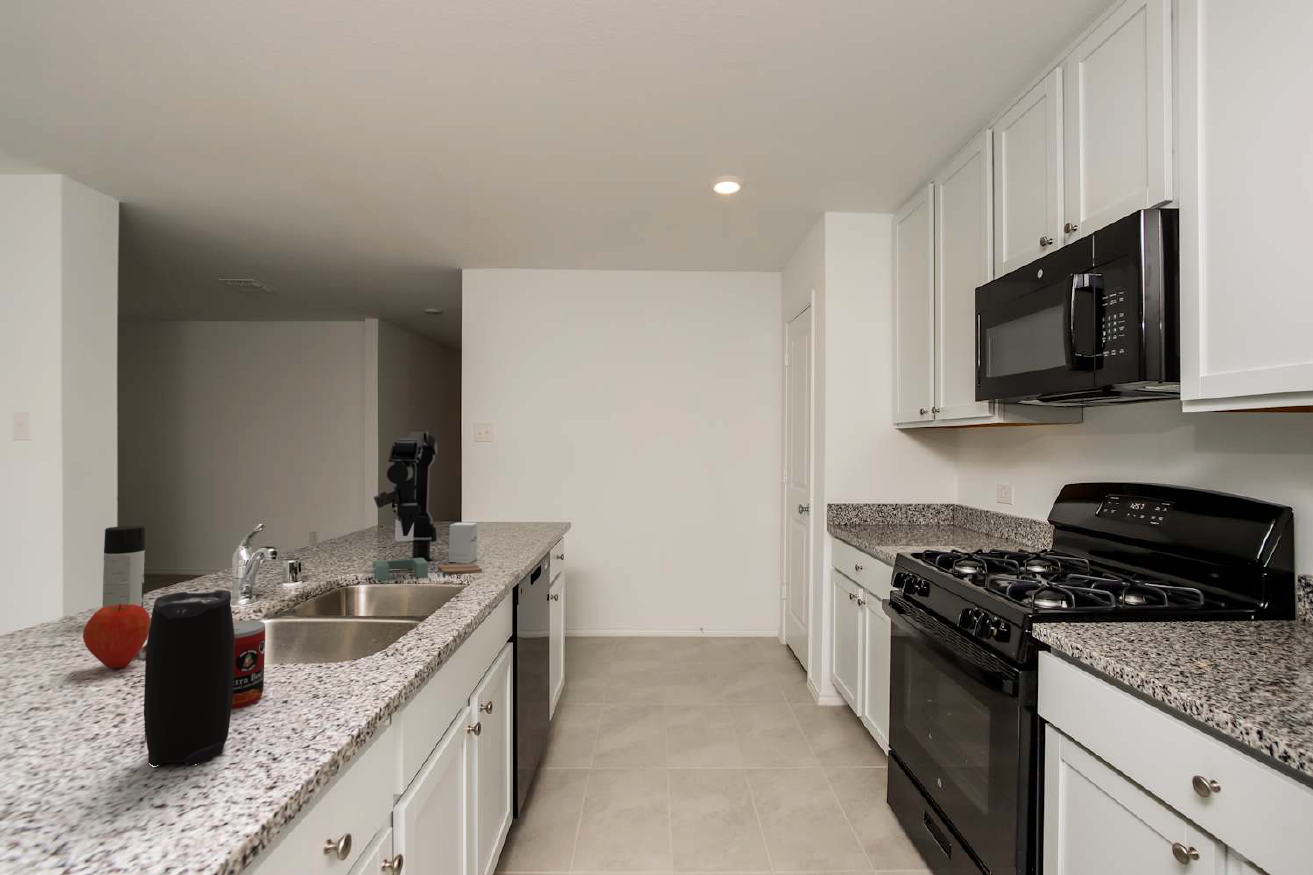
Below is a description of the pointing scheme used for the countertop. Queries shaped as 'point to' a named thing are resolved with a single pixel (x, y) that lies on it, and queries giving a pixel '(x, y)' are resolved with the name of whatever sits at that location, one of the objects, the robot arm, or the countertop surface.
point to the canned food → (248, 662)
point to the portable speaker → (189, 677)
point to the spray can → (124, 566)
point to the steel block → (399, 532)
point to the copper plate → (460, 568)
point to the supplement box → (463, 542)
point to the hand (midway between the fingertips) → (404, 534)
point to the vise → (398, 567)
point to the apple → (117, 634)
